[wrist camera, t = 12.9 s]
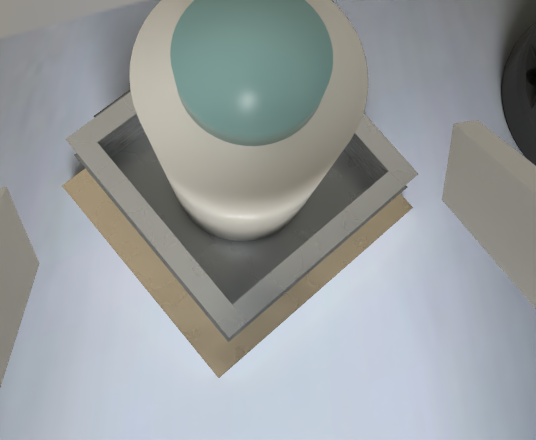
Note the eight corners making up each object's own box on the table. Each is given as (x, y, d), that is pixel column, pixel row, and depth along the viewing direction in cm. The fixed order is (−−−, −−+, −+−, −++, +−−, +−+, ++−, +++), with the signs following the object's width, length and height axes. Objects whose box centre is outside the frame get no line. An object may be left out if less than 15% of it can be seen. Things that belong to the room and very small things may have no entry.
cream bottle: (338, 181, 26) (431, 73, 14) (233, 269, 25) (236, 234, 13) (250, 81, 26) (266, -106, 14) (143, 163, 25) (66, 33, 13)
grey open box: (402, 213, 34) (476, 172, 24) (219, 373, 32) (214, 405, 21) (259, 51, 35) (271, -54, 25) (72, 193, 33) (-1, 140, 22)
